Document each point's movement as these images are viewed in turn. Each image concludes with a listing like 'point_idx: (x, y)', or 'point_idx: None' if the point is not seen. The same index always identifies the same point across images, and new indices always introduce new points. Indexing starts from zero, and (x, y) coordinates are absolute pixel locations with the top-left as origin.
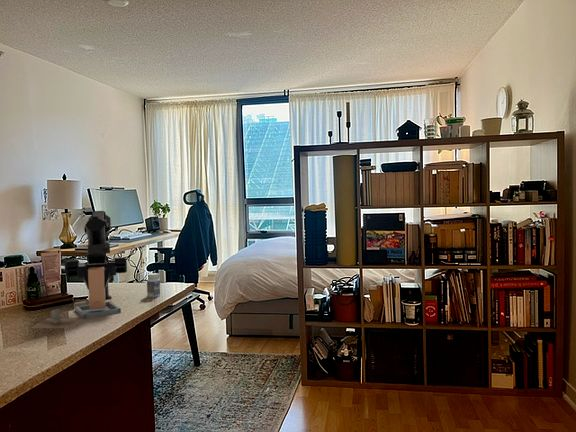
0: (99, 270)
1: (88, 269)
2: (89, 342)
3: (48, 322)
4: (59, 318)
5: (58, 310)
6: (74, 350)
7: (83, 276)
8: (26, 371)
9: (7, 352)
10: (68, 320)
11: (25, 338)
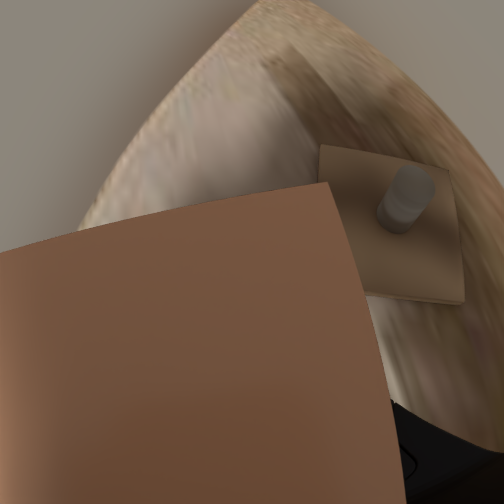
0: (25, 265)
1: (367, 331)
2: (201, 65)
3: (428, 228)
4: (383, 199)
5: (401, 179)
6: (227, 38)
7: (435, 431)
8: (283, 3)
9: (378, 54)
10: (353, 241)
11: (407, 116)
